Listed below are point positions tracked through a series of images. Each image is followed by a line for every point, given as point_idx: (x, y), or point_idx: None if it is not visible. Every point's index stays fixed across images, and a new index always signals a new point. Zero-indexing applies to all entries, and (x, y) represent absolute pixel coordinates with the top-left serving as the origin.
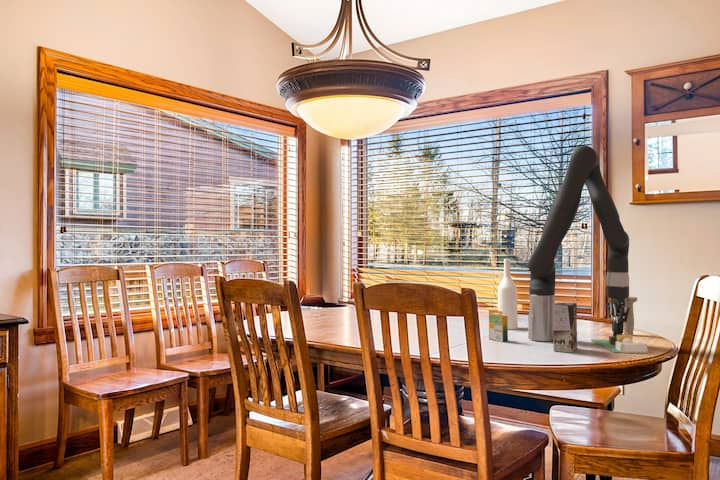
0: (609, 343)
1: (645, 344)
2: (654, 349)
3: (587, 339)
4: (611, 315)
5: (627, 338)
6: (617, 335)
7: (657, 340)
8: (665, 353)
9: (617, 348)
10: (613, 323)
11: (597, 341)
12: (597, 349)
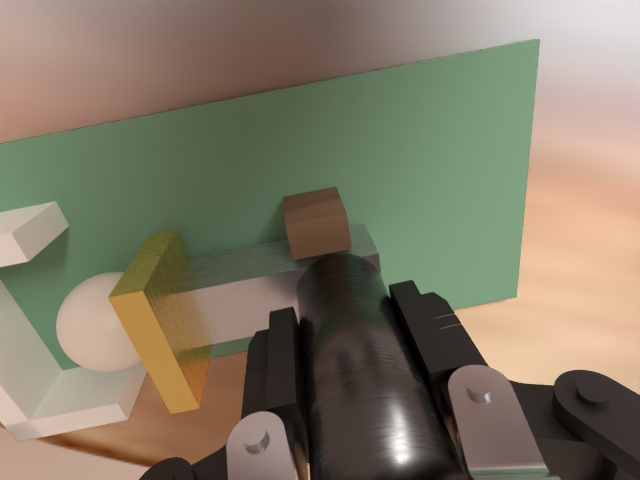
0: (325, 189)
1: (12, 429)
2: (217, 425)
3: (604, 6)
4: (517, 453)
5: (79, 355)
6: (115, 292)
7: None
8: (103, 455)
9: (3, 215)
10: (348, 359)
11: (428, 90)
12: (15, 15)
